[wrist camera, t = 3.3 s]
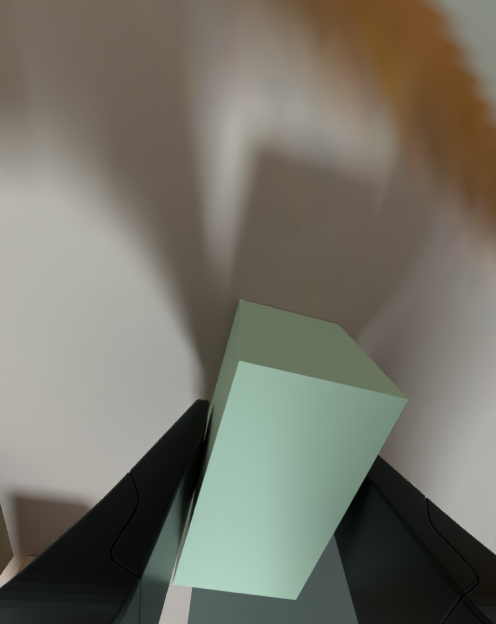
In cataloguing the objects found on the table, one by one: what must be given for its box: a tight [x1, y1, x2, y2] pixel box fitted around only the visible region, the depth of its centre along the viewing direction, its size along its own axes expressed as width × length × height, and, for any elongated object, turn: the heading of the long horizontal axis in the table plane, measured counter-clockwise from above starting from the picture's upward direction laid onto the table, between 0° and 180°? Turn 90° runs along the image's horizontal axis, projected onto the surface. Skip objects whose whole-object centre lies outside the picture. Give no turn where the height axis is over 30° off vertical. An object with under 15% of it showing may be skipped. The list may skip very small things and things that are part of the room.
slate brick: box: [188, 533, 358, 624], centre depth 11 cm, size 7×4×4 cm, turn 84°
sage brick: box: [172, 299, 409, 600], centre depth 8 cm, size 7×4×4 cm, turn 165°
